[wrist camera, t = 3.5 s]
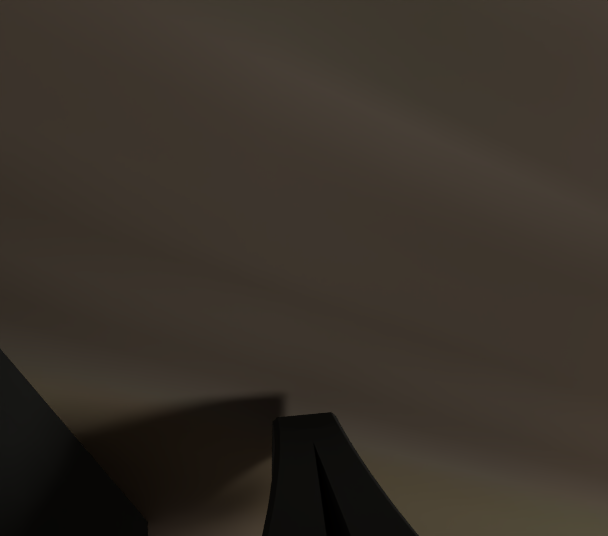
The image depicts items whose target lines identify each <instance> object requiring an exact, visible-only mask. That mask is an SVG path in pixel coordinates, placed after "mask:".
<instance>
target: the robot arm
mask: <svg viewBox="0 0 608 536" xmlns="http://www.w3.org/2000/svg"><path fill="white" fill-rule="evenodd" d="M262 536H419V535H418V534H417V533H416V532H415V531H414V529H413V528H412V527H411V526H410V524H409V523H408V522H407V521H406V519H405V518H404V517H403V516H402V514H401V513H400V512H399V511H398V509H397V508H396V507H395V505H394V504H393V503H392V502H391V500H390V499H389V498H388V496H387V495H386V493H385V492H384V491H383V489H382V488H381V486H380V485H379V484H378V482H377V481H376V480H375V478H374V477H373V475H372V474H371V473H370V471H369V470H368V468H367V467H366V465H365V464H364V462H363V461H362V459H361V458H360V456H359V455H358V453H357V451H356V450H355V448H354V447H353V445H352V443H351V442H350V440H349V439H348V437H347V435H346V434H345V432H344V430H343V428H342V427H341V425H340V423H339V421H338V419H337V417H336V416H335V415H334V414H333V413H332V412H329V413H318V414H308V415H297V416H287V417H278V418H276V419H275V420H274V421H273V428H272V483H271V491H270V498H269V504H268V510H267V515H266V520H265V525H264V529H263V534H262Z"/></svg>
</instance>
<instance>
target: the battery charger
mask: <svg viewBox="0 0 608 536" xmlns="http://www.w3.org/2000/svg"><path fill="white" fill-rule="evenodd" d="M0 536H148V522H147V521H146V519H145V518H144V517H143V516H142V515H141V514H140V512H139V511H138V510H137V509H136V508H135V507H134V505H133V504H132V503H131V502H130V501H129V500H128V498H127V497H126V496H125V495H124V494H123V492H122V491H121V490H120V489H119V488H118V487H117V485H116V484H115V483H114V482H113V481H112V480H111V478H110V477H109V476H108V475H107V474H106V472H105V471H104V470H103V469H102V468H101V467H100V465H99V464H98V463H97V462H96V461H95V460H94V458H93V457H92V456H91V455H90V454H89V452H88V451H87V450H86V449H85V448H84V447H83V445H82V444H81V443H80V442H79V441H78V440H77V438H76V437H75V436H74V435H73V434H72V433H71V431H70V430H69V429H68V428H67V427H66V425H65V424H64V423H63V422H62V421H61V420H60V418H59V417H58V416H57V415H56V414H55V413H54V411H53V410H52V409H51V408H50V407H49V405H48V404H47V403H46V402H45V401H44V400H43V398H42V397H41V396H40V395H39V394H38V393H37V391H36V390H35V389H34V388H33V387H32V385H31V384H30V383H29V382H28V381H27V380H26V378H25V377H24V376H23V375H22V374H21V373H20V371H19V370H18V369H17V368H16V367H15V365H14V364H13V363H12V362H11V361H10V360H9V358H8V357H7V356H6V355H5V354H4V353H3V351H2V350H1V349H0Z"/></svg>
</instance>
